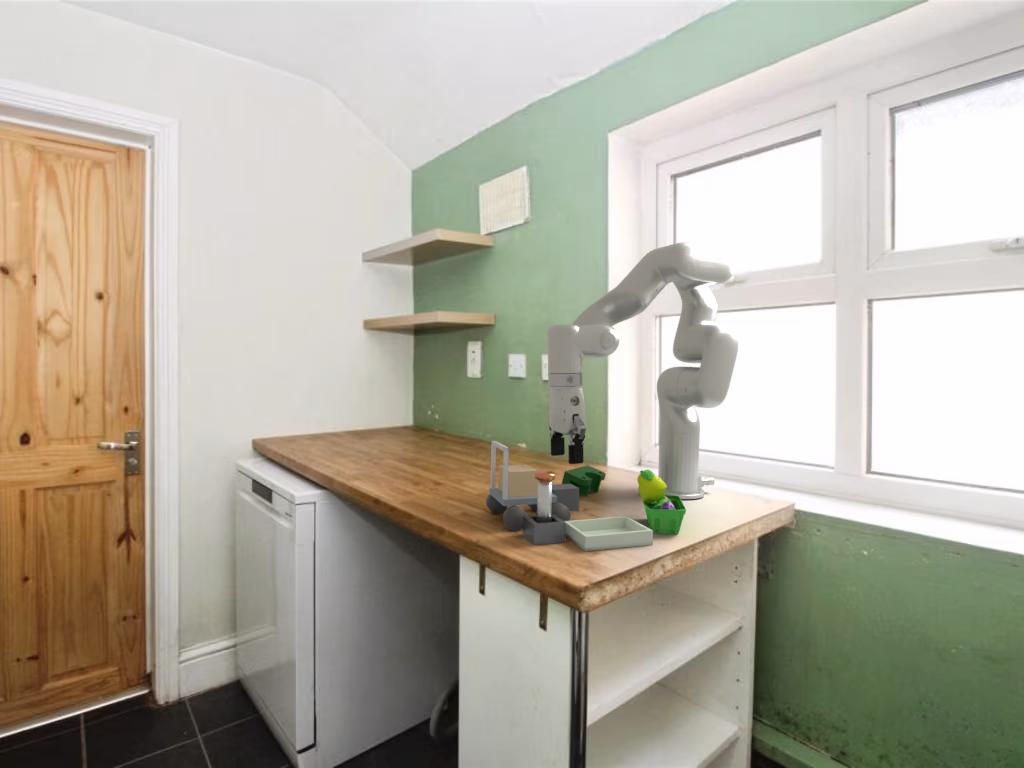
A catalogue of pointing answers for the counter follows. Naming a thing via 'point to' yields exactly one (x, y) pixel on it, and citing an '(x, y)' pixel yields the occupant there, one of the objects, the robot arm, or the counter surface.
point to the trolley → (516, 491)
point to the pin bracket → (544, 530)
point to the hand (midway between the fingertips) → (566, 459)
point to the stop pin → (544, 495)
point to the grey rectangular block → (567, 495)
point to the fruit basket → (660, 504)
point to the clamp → (584, 479)
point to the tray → (608, 533)
